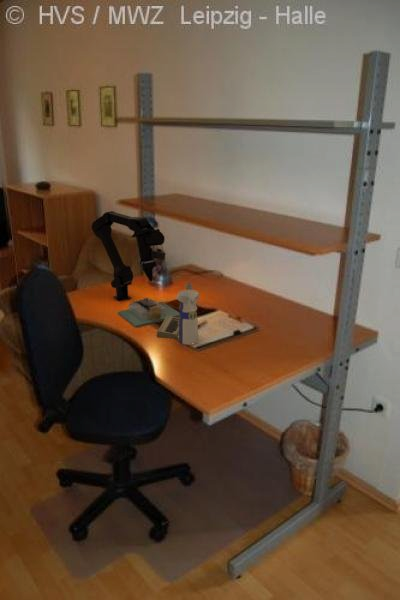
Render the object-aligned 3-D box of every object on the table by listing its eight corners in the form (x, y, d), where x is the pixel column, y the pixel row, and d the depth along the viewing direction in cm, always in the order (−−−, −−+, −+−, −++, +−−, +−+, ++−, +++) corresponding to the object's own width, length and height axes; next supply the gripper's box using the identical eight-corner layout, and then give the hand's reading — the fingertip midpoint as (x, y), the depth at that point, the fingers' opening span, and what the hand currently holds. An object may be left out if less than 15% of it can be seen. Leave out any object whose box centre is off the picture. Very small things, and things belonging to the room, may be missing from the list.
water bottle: (204, 341, 180) (204, 279, 171) (185, 346, 175) (184, 283, 167) (193, 333, 186) (192, 273, 177) (174, 338, 182) (172, 277, 173)
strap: (137, 302, 206) (137, 300, 206) (143, 301, 208) (143, 299, 208) (150, 307, 197) (150, 306, 196) (156, 306, 198) (156, 304, 198)
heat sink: (129, 311, 206) (128, 299, 204) (151, 306, 212) (150, 294, 210) (144, 322, 194) (144, 310, 192) (168, 316, 200) (167, 304, 198)
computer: (176, 339, 182) (176, 331, 181) (156, 338, 184) (156, 330, 183) (184, 323, 197) (184, 316, 196) (165, 322, 198) (165, 315, 197)
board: (117, 313, 206) (117, 311, 206) (161, 303, 217) (161, 301, 217) (135, 327, 192) (135, 325, 192) (181, 316, 203) (181, 314, 203)
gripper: (164, 244, 198) (171, 280, 202) (159, 241, 216) (166, 274, 220) (138, 249, 197) (146, 285, 200) (136, 246, 214) (142, 279, 218)
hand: (151, 280), depth 210 cm, fingers closed
